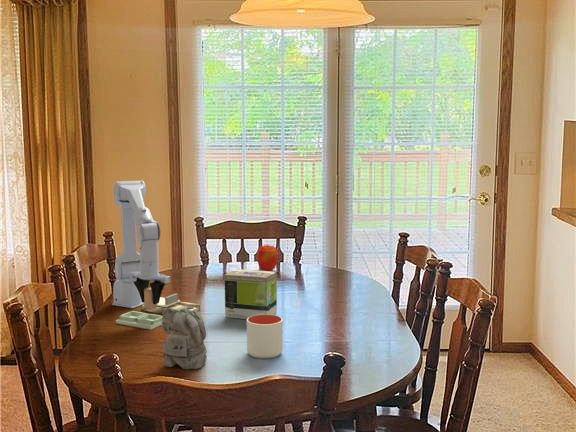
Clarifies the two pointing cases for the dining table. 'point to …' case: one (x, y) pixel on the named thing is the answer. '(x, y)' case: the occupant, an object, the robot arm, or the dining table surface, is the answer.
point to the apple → (267, 257)
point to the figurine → (184, 338)
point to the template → (175, 307)
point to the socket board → (140, 320)
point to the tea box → (250, 293)
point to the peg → (148, 299)
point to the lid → (168, 300)
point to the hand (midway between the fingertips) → (150, 302)
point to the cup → (264, 336)
